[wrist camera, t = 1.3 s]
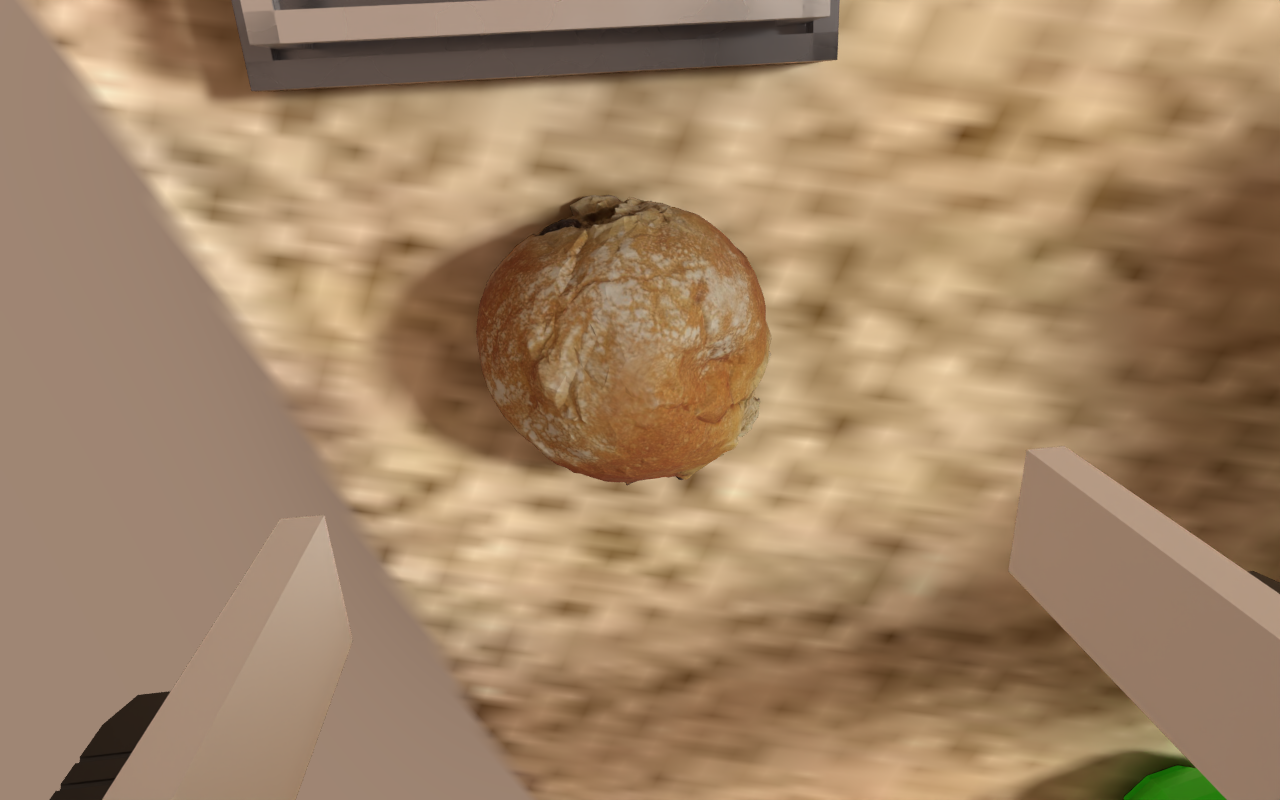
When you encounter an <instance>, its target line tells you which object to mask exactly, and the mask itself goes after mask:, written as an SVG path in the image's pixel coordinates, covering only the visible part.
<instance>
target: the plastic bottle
mask: <svg viewBox="0 0 1280 800" xmlns="http://www.w3.org/2000/svg"><path fill="white" fill-rule="evenodd" d="M1124 800H1227V799H1226V798H1225V797H1224V796H1223V795H1222V794H1221V793H1220V792H1219V791H1218V790H1217V789H1216V788H1215V787H1214V786H1213V785H1212V784H1211V783H1210V782H1209V781H1208V780H1207V779H1206V777H1205V776H1204V775H1203V774H1202V773H1201V772H1200V771H1199V770H1198V769H1197V768H1192V767H1185V766H1179V765H1177V766H1174V767H1171V768H1168V769H1165V770H1162V771H1159V772H1156V773H1153V774H1150V775H1147V776H1146V777H1145V778H1144V779H1143V780H1142V781H1141V782H1140V783H1138V784H1137V785H1136V786H1135V787H1134V788H1133V789H1132V790H1131V791H1130V792H1129V793H1128V794H1127V795H1125V796H1124Z"/></svg>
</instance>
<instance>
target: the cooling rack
mask: <svg viewBox="0 0 1280 800" xmlns="http://www.w3.org/2000/svg"><path fill="white" fill-rule="evenodd" d="M232 5H233V10H234V14H235V19H236V23H237V28H238V32H239V37H240V41H241V46H242V50H243V55H244V60H245V64H246V69H247V73H248V78H249V82H250V87H251V91H284V90H303V89H321V88H340V87H358V86H377V85H396V84H414V83H433V82H452V81H470V80H489V79H508V78H526V77H545V76H563V75H582V74H601V73H619V72H638V71H657V70H675V69H694V68H713V67H731V66H750V65H769V64H787V63H806V62H823V61H831V60H837V52H838V26H839V0H232Z"/></svg>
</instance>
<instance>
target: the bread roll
mask: <svg viewBox="0 0 1280 800" xmlns="http://www.w3.org/2000/svg"><path fill="white" fill-rule="evenodd" d="M570 208H571V211H572V213H573V216H572V217H570V218H567V219H565V220H560V221H558V222H557V223H554V224H552V225H550V226H548V227H546V228H545V229H544V230H543V231H542V232H540V233H538V234H537V235H533V234H532V235H531V236H530V237H528V238H526V239H525V240H524V241H523V242H521V243H520V244H518V245H517V246H515V248H514V249H513V250H512V252H511V253H510V254H509V255H508V256H507V257H506V258H505V259H504V260H503V261H502V262H501V263H500V264H499V266H498V267H497V268H496V269H495V271H494V272H493V273H492V275H491V276H490V278H489V280H488V282H487V284H486V287H485V290H484V293H483V296H482V298H481V301H480V306H479V311H478V319H477V331H476V333H477V344H478V350H479V355H480V361H481V367H482V372H483V375H484V378H485V382H486V385H487V388H488V390H489V392H490V394H491V396H492V398H493V399H494V401H495V403H496V404H497V406H498V408H499V409H500V411H501V413H502V414H503V415H504V417H505V418H506V419H507V420H508V421H509V422H510V423H511V424H512V425H513V427H514V428H515V430H516V431H517V432H519V433H520V434H521V435H522V436H523V437H524V438H525V439H526V440H528V441H529V442H531V443H532V444H534V445H535V447H536V448H537V449H539V450H540V451H541V452H542V453H543V454H544V455H545V456H546V457H547V458H548V459H550V460H551V461H553V462H554V463H556V464H558V465H560V466H563V467H566V468H568V469H569V470H571V471H572V472H574V473H581V474H584V475H586V476H589V477H593V478H596V479H600V480H603V481H608V482H626V485H629V484H630V483H633V482H636V481H639V480H646V479H654V478H661V477H672V476H676V477H677V478H678V479H679V480H683V479H685V480H686V479H688V478H689V477H691V476H692V475H693V474H694V473H695V472H697V471H698V470H700V469H701V468H703V467H704V466H706V465H707V464H709V463H710V462H712V461H713V460H715V459H717V458H718V457H720V456H722V455H724V452H727V451H730V450H732V449H734V448H735V447H736V446H737V444H738V442H739V441H738V439H737V437H738V436H739V437H743V436H744V435H745V434H747V433H748V432H749V431H750V430H751V429H752V426H753V424H754V422H755V420H756V419H757V418H758V415H759V404H760V399H756V398H755V397H754V395H755V389H756V388H757V386H758V384H759V383H760V381H761V379H762V377H763V375H764V372H765V370H766V367H767V364H768V361H769V358H770V355H771V353H770V351H769V346H770V343H771V339H772V338H771V334H770V331H769V328H768V325H767V323H766V320H765V312H766V307H765V301H764V297H763V294H762V291H761V288H760V285H759V283H758V280H757V277H756V274H755V272H754V270H753V269H752V267H751V265H750V263H749V261H748V259H747V257H746V256H745V255H744V254H743V253H742V252H741V251H740V250H739V249H737V248H736V247H735V246H734V245H733V244H732V243H731V241H730V240H729V239H728V238H727V237H726V236H725V235H724V234H723V233H722V232H721V231H720V230H718V229H717V228H716V227H714V226H713V225H712V224H711V223H709V222H708V221H706V220H705V219H703V218H702V217H700V216H699V215H696V214H694V213H691V212H687V211H684V210H681V209H679V208H675V207H670V206H668V205H666V204H663V203H656V202H652V201H642V200H639V199H636V198H632V197H629V198H628V199H627V200H626V201H624V202H622V201H620V200H619V199H618V198H617V197H615V196H610V195H606V196H594V195H593V196H589V197H584V198H582V199H580V200H579V201H577V202H575V203H573V204H572V205H570Z"/></svg>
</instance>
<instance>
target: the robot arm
mask: <svg viewBox="0 0 1280 800" xmlns="http://www.w3.org/2000/svg"><path fill="white" fill-rule="evenodd" d="M1008 571H1009V572H1010V574H1011V575H1012V576H1013V577H1014V578H1015V579H1016V580H1017V581H1018V582H1019V583H1020V584H1021V585H1022V586H1023V587H1024V588H1025V589H1026V590H1027V591H1028V592H1029V593H1030V594H1031V596H1032V597H1033V598H1034V599H1035V600H1036V601H1037V602H1038V603H1039V604H1040V605H1041V606H1042V607H1043V608H1044V609H1045V610H1046V611H1047V612H1048V613H1049V614H1050V615H1051V616H1052V617H1053V619H1054V620H1055V621H1056V622H1057V623H1058V624H1059V625H1060V626H1061V627H1062V628H1063V629H1064V630H1065V631H1066V632H1067V633H1068V634H1069V635H1070V636H1071V637H1072V638H1073V639H1074V640H1075V642H1076V643H1077V644H1078V645H1079V646H1080V647H1081V648H1082V649H1083V650H1084V651H1085V652H1086V653H1087V654H1088V655H1089V656H1090V657H1091V658H1092V659H1093V660H1094V661H1095V662H1096V663H1097V665H1098V666H1099V667H1100V668H1101V669H1102V670H1103V671H1104V672H1105V673H1106V674H1107V675H1108V676H1109V677H1110V678H1111V679H1112V680H1113V681H1114V682H1115V683H1116V684H1117V685H1118V686H1119V688H1120V689H1121V690H1122V691H1123V692H1124V693H1125V694H1126V695H1127V696H1128V697H1129V698H1130V699H1131V700H1132V701H1133V702H1134V703H1135V704H1136V705H1137V706H1138V707H1139V708H1140V709H1141V711H1142V712H1143V713H1144V714H1145V715H1146V716H1147V717H1148V718H1149V719H1150V720H1151V721H1152V722H1153V723H1154V724H1155V725H1156V726H1157V727H1158V728H1159V729H1160V730H1161V731H1162V733H1163V734H1164V735H1165V736H1166V737H1167V738H1168V739H1169V740H1170V741H1171V742H1172V743H1173V744H1174V745H1175V746H1176V747H1177V748H1178V749H1179V750H1180V751H1181V752H1182V753H1183V754H1184V756H1185V757H1186V758H1187V759H1188V760H1189V761H1190V762H1191V763H1192V764H1193V765H1194V766H1195V767H1196V768H1197V769H1198V770H1199V771H1200V772H1201V773H1202V774H1203V775H1204V776H1205V777H1206V779H1207V780H1208V781H1209V782H1210V783H1211V784H1212V785H1213V786H1214V787H1215V788H1216V789H1217V790H1218V791H1219V792H1220V793H1221V794H1222V795H1223V796H1224V797H1225V798H1226V799H1227V800H1280V583H1279V582H1277V581H1275V580H1272V579H1270V578H1268V577H1265V576H1263V575H1261V574H1259V573H1256V572H1254V571H1250V572H1247V571H1245V570H1244V569H1243V568H1241V567H1240V566H1238V565H1237V564H1235V563H1234V562H1232V561H1231V560H1229V559H1228V558H1227V557H1225V556H1224V555H1222V554H1221V553H1219V552H1218V551H1216V550H1215V549H1214V548H1212V547H1211V546H1209V545H1208V544H1206V543H1205V542H1203V541H1202V540H1200V539H1199V538H1198V537H1196V536H1195V535H1193V534H1192V533H1190V532H1189V531H1187V530H1186V529H1184V528H1183V527H1182V526H1180V525H1179V524H1177V523H1176V522H1174V521H1173V520H1171V519H1170V518H1168V517H1167V516H1166V515H1164V514H1163V513H1161V512H1160V511H1158V510H1157V509H1155V508H1154V507H1152V506H1151V505H1150V504H1148V503H1147V502H1145V501H1144V500H1142V499H1141V498H1139V497H1138V496H1136V495H1135V494H1134V493H1132V492H1131V491H1129V490H1128V489H1126V488H1125V487H1123V486H1122V485H1120V484H1119V483H1118V482H1116V481H1115V480H1113V479H1112V478H1110V477H1109V476H1107V475H1106V474H1104V473H1103V472H1102V471H1100V470H1099V469H1097V468H1096V467H1094V466H1093V465H1091V464H1090V463H1088V462H1087V461H1086V460H1084V459H1083V458H1081V457H1080V456H1078V455H1077V454H1075V453H1074V452H1072V451H1071V450H1070V449H1068V448H1067V447H1065V446H1061V447H1050V448H1039V449H1028V450H1027V452H1026V458H1025V465H1024V471H1023V478H1022V484H1021V491H1020V497H1019V504H1018V510H1017V517H1016V524H1015V530H1014V537H1013V543H1012V550H1011V556H1010V563H1009V569H1008ZM352 642H353V639H352V634H351V630H350V625H349V621H348V617H347V613H346V608H345V603H344V599H343V595H342V590H341V586H340V582H339V577H338V573H337V569H336V564H335V560H334V555H333V551H332V546H331V542H330V538H329V533H328V529H327V524H326V520H325V516H324V515H318V516H308V517H296V518H285V519H280V520H279V521H278V523H277V525H276V526H275V528H274V529H273V531H272V532H271V534H270V536H269V537H268V539H267V540H266V542H265V543H264V545H263V547H262V548H261V550H260V551H259V553H258V554H257V556H256V558H255V559H254V561H253V562H252V564H251V566H250V567H249V569H248V570H247V572H246V573H245V575H244V577H243V578H242V580H241V581H240V583H239V585H238V586H237V588H236V589H235V591H234V593H233V594H232V595H231V597H230V599H229V601H228V602H227V603H226V605H225V607H224V608H223V610H222V611H221V613H220V614H219V616H218V618H217V619H216V621H215V622H214V624H213V625H212V627H211V629H210V630H209V632H208V633H207V635H206V637H205V638H204V640H203V641H202V643H201V645H200V646H199V648H198V649H197V651H196V652H195V654H194V656H193V657H192V659H191V660H190V662H189V663H188V665H187V666H186V668H185V670H184V671H183V673H182V674H181V676H180V678H179V679H178V681H177V682H176V684H175V686H174V687H173V689H172V690H171V691H170V692H161V693H152V694H143V695H137V696H136V697H135V698H134V699H133V700H132V701H130V702H129V703H128V704H127V705H126V706H124V707H123V708H122V709H121V710H120V711H119V712H117V713H116V714H115V715H114V716H113V717H112V718H110V719H109V720H108V721H107V722H105V723H104V724H103V725H102V727H101V728H100V729H99V731H98V732H97V734H96V735H95V736H94V738H93V739H92V741H91V742H90V744H89V745H88V746H87V748H86V749H85V750H84V752H83V753H82V755H81V756H80V762H79V763H76V764H75V765H74V766H73V767H72V769H71V770H70V772H69V773H68V775H67V776H66V777H65V779H64V780H63V782H62V783H61V789H60V791H56V792H55V793H54V794H53V796H52V797H51V799H50V800H296V797H297V795H298V792H299V789H300V786H301V783H302V781H303V778H304V775H305V772H306V769H307V767H308V764H309V761H310V758H311V756H312V753H313V750H314V747H315V744H316V742H317V739H318V736H319V733H320V731H321V728H322V725H323V722H324V720H325V717H326V714H327V711H328V708H329V706H330V703H331V700H332V697H333V695H334V692H335V689H336V686H337V684H338V681H339V678H340V675H341V672H342V670H343V667H344V664H345V661H346V658H347V656H348V653H349V650H350V647H351V644H352Z"/></svg>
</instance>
